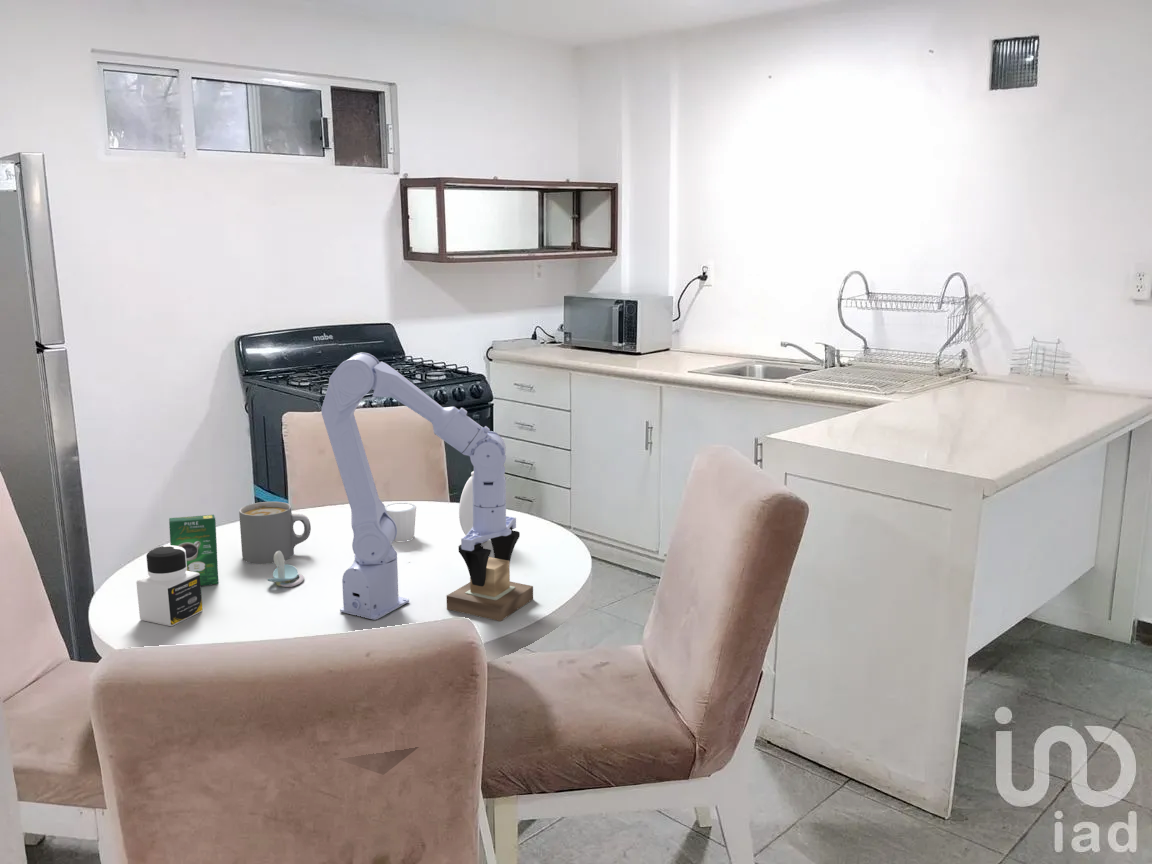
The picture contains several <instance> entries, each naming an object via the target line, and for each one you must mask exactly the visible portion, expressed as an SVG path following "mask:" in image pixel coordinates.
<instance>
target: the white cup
mask: <svg viewBox="0 0 1152 864" xmlns="http://www.w3.org/2000/svg"><path fill="white" fill-rule="evenodd" d="M384 506H385V509H386V512H387V513H388V515H389V516H390V517H391V518H392V519H393V520H394V522H395V524H396V526H397V535H396V537H395V539H394V541H405V542H408V541H407V540H410V541H412V540H413V539H414V538H415V529H416V528H415V527H416V515H417V514H416V512H417V506H416V505H415V504H414V503H408V502H395V503H390V504H387V505H384ZM412 538H413V539H412ZM411 539H412V540H411Z"/></svg>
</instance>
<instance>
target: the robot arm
mask: <svg viewBox="0 0 1152 864" xmlns="http://www.w3.org/2000/svg"><path fill="white" fill-rule="evenodd" d="M371 390H373V392H372V397H374V398H379V397H380V398H382V397H383V398H393V399H395V400H396V401H398V402H399V403H401V404H402V405H404V406H405V407H406V408H408V409H410V410H411V411H413V412H414V413H416V414H417V415H419V416H421V417H422V418H424V419H425V420H427V422H430V423H431V425H432V429H433V434H434V435H435V436H437V437H438V438H440V439H441V440H442V441H444V442H445V443H447V444H448V445H449V446H451V447H452V448H454V449H455V450H456V451H457V452H459V453H461V454H462V455H463V456H468V457H469V458H470V462H471V465H472V466H473V471H474V476H473V478H472V489H473V527H472V528H471V530H470V531H469V532H468V534H467V535H465V536H463V537H462V538H460V540H461V544H459V545H458V553H459V554H460V556H461V557H462V558H463V561H464V562H465V566H466V567H467V570H468V573H469V578H470V577H471V581H472V584H473V585H477V586H484V584H485V579H486V567H487V562H488V558H489V557H490V555H491V553H492V551H493V558H497V559H502V560H508V561H510V562H511V559H512V554H513V551H514V548H515V546H516V544H517V542H518V541H519V539H520V532H519V531H517V530H514V529H516V528H517V518H516V517H512V516H507V499H506V498H507V493H506V492H507V491H506V490H507V488H506V485H507V481H506V479H507V478H506V476H505V474H506V466H505V462H506V459H507V456H506V451H507V450H506V447H507V446H506V444H505V441H504V440H503V438H502V437H501V436H500V435H499V433H498V432H496V431H492V430H490V428H489V427H488V426H487V425H485V426H484V427H483V426H481V425H480V424H479V423H478V422H477V421H475V420H473V419H472V418H471V417H470V416H468V411H467V410H466V409H465V408H464V407H460V408H457V407H456V406H446V407H444V406H442V405H441V404H439V403H438V402H437V401H436V400H434V399H433V398H431V397H430V396H429V395H428V394H427V393H425V392H424V391H423V390H422V389H420V388H419V387H417V386H416V384H414V383H412V382H411V381H410V380H409V379H407V378H406V377H405V376H404V375H402V374H401V373H400V372H399V371H397V370H396V369H395V368H393V366H390V365H389V364H388V363H386V362H383V361H379V359H378V358H377V357H376V356H374V355H372V354H371V353H368V352H357V353H355V354H353V355H351V356H350V357H349V358H348V359H346V360H344V361H342V362H341V363H340V364H339V365H337V367H336V369H334V371H333V372H332V374H331V375H330V376H329V379H328V386H327V389H326V392H325V396H324V400H323V401H322V405H321V411H320V412H321V416H322V420H323V422H324V426H325V430H326V432H327V436H328V440H329V442H330V445H331V449H332V452H333V455H334V459H335V462H336V465H337V468H338V471H339V474H340V477H341V480H342V485H343V487H344V491H345V494H346V497H347V500H348V504H349V508H350V510H351V516H350V517H351V523H350V524H351V528H352V529H351V530H352V532H353V538H352V543H351V546H352V551H353V554H354V561H353V563H352V564H351V566H350V567H349V568H347V569H346V570H345V571H344V573H343V575H342V581H341V583H342V599H343V600H342V603H343V605H342V606H343V607H340V608H339V612H341V613H344V614H348V615H349V614H350V615H352V616H356V615H357V616H356V617H360V616H361V618H364V617H365V618H366V619H369V620H373V621H375V620H376V619H377V620H379V619H380V618H382V617H384V616H386V615H388V614H389V613H391V612H394V611H395V610H397V609H398V608H401V607H402V606H404V605H406V604H407V603H409V602H410V599H409V598H407V597H402V596H399V575H398V574H399V573H398V553H397V550H395V547H394V546H393V545H392V544H393V543H394V542H393V541H394V539H395V537H396V535H397V526H396V524H395V522H394V520H393V519H392V518H391V517H390V516H389V515H388V513H387V512H386V509H385V506H386V505H385V504H384V503H383V501H382V500H381V499H380V496H379V493H378V490H377V487H376V484H375V480H374V477H373V473H372V470H371V467H370V462H369V459H368V457H367V454H366V450H365V447H364V444H363V440H362V437H361V434H360V430H359V427H358V424H357V420H356V417H355V411H356V410H357V408H358V407H359V406H360V405H359V404H360V403H361V402H362V400H363V398H364V397H365V396H366V395H367V394H368V393H369V392H371ZM487 541H490V543H491V546H492V549H489V548H484V546H483V545H482V544H484V543H485V542H487ZM377 620H376V621H377Z"/></svg>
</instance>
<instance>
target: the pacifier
mask: <svg viewBox="0 0 1152 864" xmlns="http://www.w3.org/2000/svg"><path fill="white" fill-rule="evenodd" d="M285 561H286V560H284V556H283V554H282V552H281V551H277V552H276V553H275V554H274V563H273V564H274V565H275V566H276V568H275V569H273V572H272V576H273V578H272V577H270V578H267V581H269V582H271V583H275V584H276V586H279V587H283V588H293V587H296V586H298V585H300V584H301V583H303V581H304V580H305V577H304V575H303V574H301V573H299V571H298V568H297V567H296V566H294V565H292V564H288V563H285ZM296 578H297V580H295V579H296ZM292 580H295V581H293V582H291V581H292Z"/></svg>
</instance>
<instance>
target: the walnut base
mask: <svg viewBox="0 0 1152 864" xmlns="http://www.w3.org/2000/svg"><path fill="white" fill-rule="evenodd" d="M533 600H534V585H529V584H523V583H520V582H514V581H510V588H508V589H507V590H505V591H504V592H502V593H500V594H499V595H497V596H496V597H492V596H487V595H482V594H478V593H473V592H470V581H469V582H468V583H466V584H465V585H462V586H461V587H459V588H457V589H456V590H454V591H452V592H451V593H448V594H446V610H448V611H454V612H457V613H462V614H466V615H470V616H475V617H479V616H480V618H485V619H489V620H492V621H498V622H502V621H503V620H505V619H506V618H507V617H509V616H511V615H513V614H514V613H515V612H517V611H518V610H519V609H522V608H523V607H524V606H526V605H527V604H528V603H530V602H531V601H533Z"/></svg>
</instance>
